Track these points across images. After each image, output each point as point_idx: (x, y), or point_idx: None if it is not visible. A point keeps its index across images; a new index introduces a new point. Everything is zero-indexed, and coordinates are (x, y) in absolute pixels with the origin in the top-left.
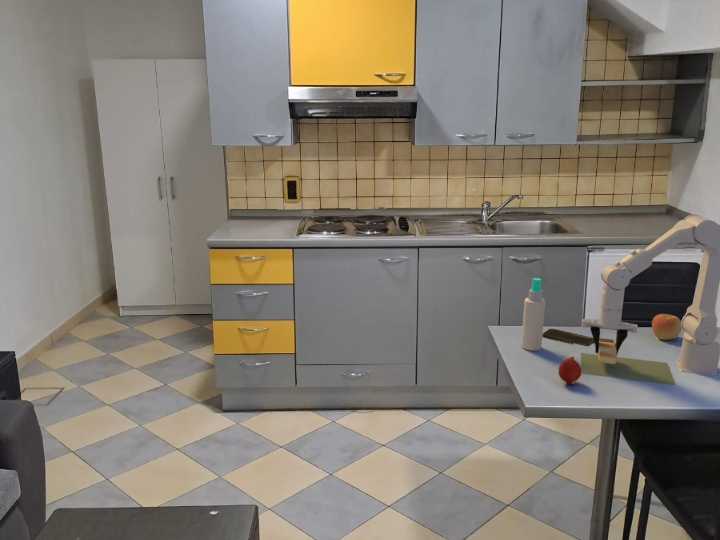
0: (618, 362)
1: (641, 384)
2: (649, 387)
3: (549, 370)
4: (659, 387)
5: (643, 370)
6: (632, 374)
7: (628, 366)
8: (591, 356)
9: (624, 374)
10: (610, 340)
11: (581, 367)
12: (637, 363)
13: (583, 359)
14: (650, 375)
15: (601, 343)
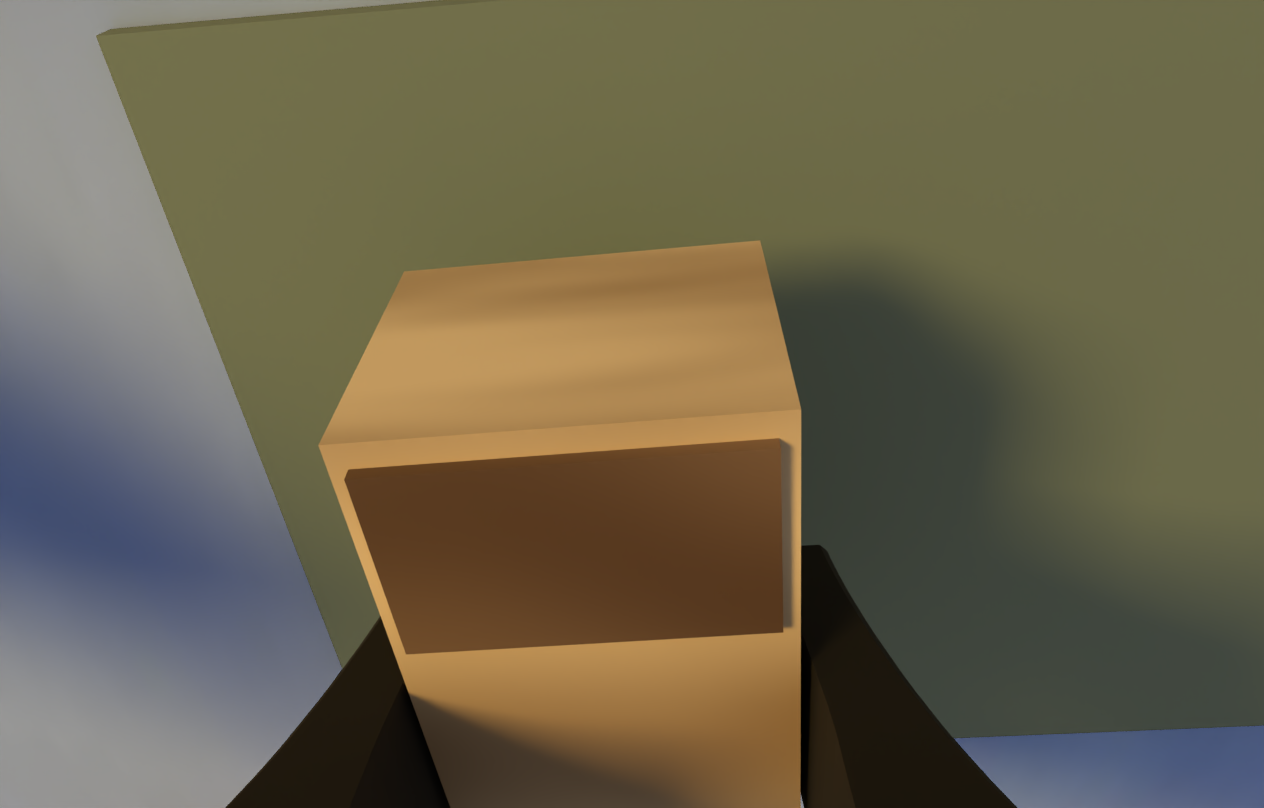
0: (861, 275)
1: (1039, 756)
2: (1107, 787)
3: (27, 754)
4: (1226, 761)
5: (1216, 451)
6: (995, 621)
7: (1007, 387)
8: (357, 168)
9: (885, 648)
10: (697, 546)
11: (330, 632)
12: (1229, 190)
13: (267, 366)
14: (1252, 576)
15: (488, 737)
